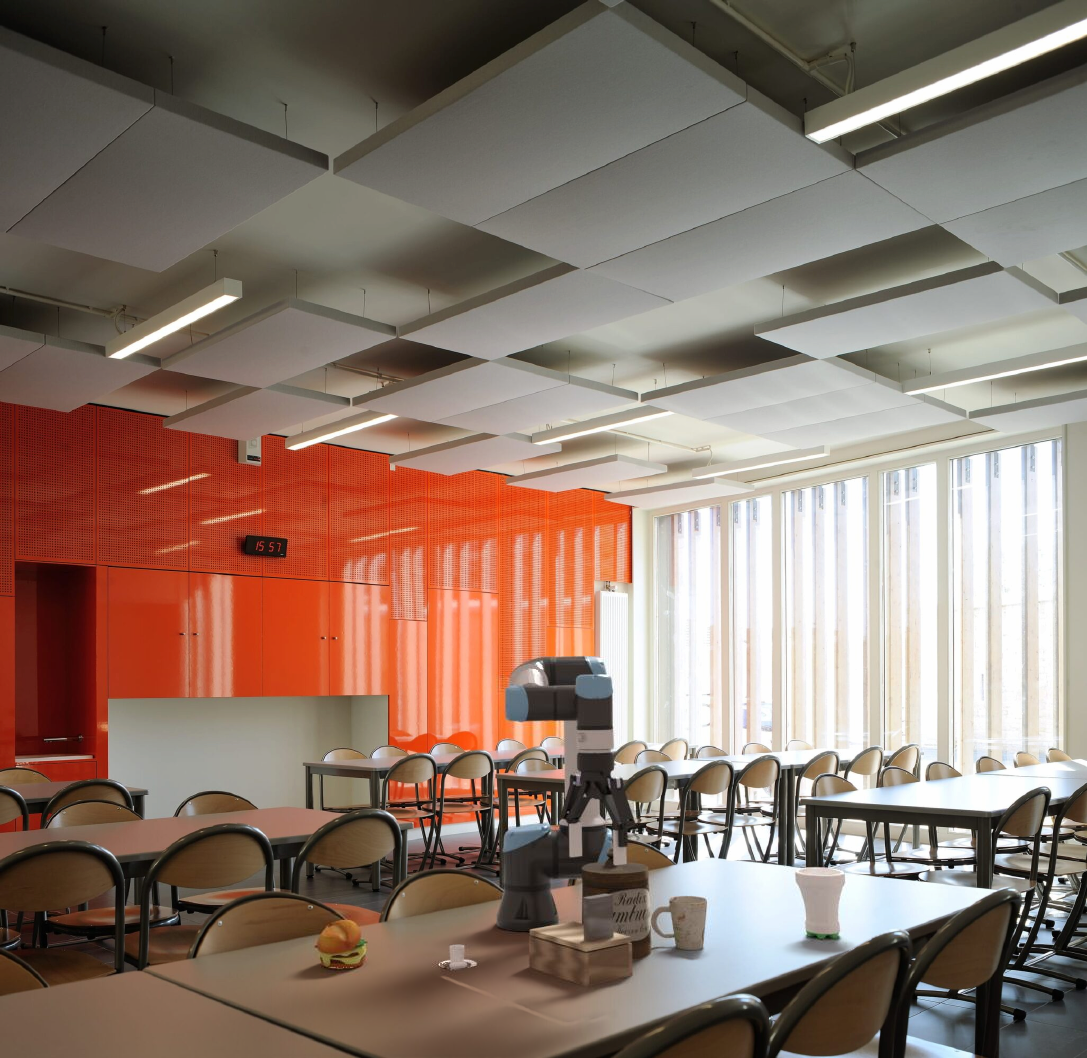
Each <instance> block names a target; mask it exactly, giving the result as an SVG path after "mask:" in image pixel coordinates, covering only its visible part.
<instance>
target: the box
mask: <svg viewBox="0 0 1087 1058" xmlns="http://www.w3.org/2000/svg"><path fill="white" fill-rule="evenodd" d="M528 950H529V951H528V955H529V956H528V963H529V964H528V965H529V966H528V967H529V968H531V969H534V970H536V971H540V972H543V973H545V974H547V975H548V974H549V975H551V976H554V977H558V978H559V979H563V980H565V981H568V982H572V983H574V984H578V985H579V986H580V985H581V986H583V987H590V986H593V985H598V984H602V983H605V982H610V981H614V980H618V979H622V978H627V977H628V978H629V977H631V976H633V975H634V974H633V973H634V972H633V971H634V969H633V959H632V943H625V944H620V945H615V946H611V947H606V948H601V949H596V950H592V951H587V952H585V951H582V950H579V949H575V948H572V947H569V946H566V945H562V944H559V943H556V942H552V941H549V940H546V939H542V938H539V937H536V936H532V935H530V936H528Z"/></svg>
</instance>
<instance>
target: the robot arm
mask: <svg viewBox="0 0 1087 1058" xmlns="http://www.w3.org/2000/svg"><path fill="white" fill-rule="evenodd" d="M508 682H509V684H508V686H507V687H505V690H504V714H505V715H504V717H505V719H506V720H507V721H508V722H519V723H523V722H563V740H564V742H563V745H564V747H563V749H564V750H563V751H564V752H563V755H564V802H563V805H562V809H561V813H560V820H559V822H558V824H559V825H558V829H552V827H551V825H550V823H531V824H526V825H520V826H516V827H513V828H511V829H508V830H507V831H506V832H505V834H504V836H503V848H502V853H503V892H502V893H503V894H502V897H501V900H500V904H499V908H498V911H497V913H496V926H497V927H498V928H500V929H501V930H502V929H503V930H507V931H514V932H530V930H531V929H536V928H541V927H547V926H552V925H557V924H560V923H559V919H560V917H559V912H558V908H557V905H556V902H555V898H554V896H553V893H552V880H577V879H579V880H582V867H583V866H584V865H587V864H591V863H597V862H606V861H607V860H608V858H609V857H608V856H607V851H608V850H610V849H611V848H613V857H614V865H622V864H627V862H628V859H627V847H628V845H629V844H628V843H629V841H628V835H629V834H628V831H629V829H631V828H632V827H635V826H636V821H635V817H634V815H633V812H632V809H631V805H630V803H629V800H628V797H627V794H626V792H625V787H624V778H623V777H622V776H618V777H617V776H616V777H612V775H611V774H612V772H613V771H614V769H615V754H614V753H613V752H612V751H613V750H614V749H615V739H614V738H615V737H614V726H613V725H614V724H613V723H614V722H613V721H614V717H613V716H614V715H613V714H614V711H613V709H614V708H613V707H614V706H613V699H614V698H613V693H614V688H613V681H612V677H611V676H610V675H609V674H607V669H606V665H605V662H604V661H603V659H602V658H600V657H599V656H588V655H581V656H579V655H578V656H577V655H575V656H574V655H573V656H539V657H536V658H532V659H529V660H526V661H525V662H523V663H521V664H519V665H518V666H517V667H515V668H514V669H513V671H512V672H511V674H510V677H509V681H508ZM600 803H602V804H603V806H604V808H605V810H606V812H607V814H608V815H609V818H610V819H611V822H612V823H613V825H614V827H613V830H612V829H610V828H608V827H607V822H606V820H605V819H604V818H603V817H602V816H601V815H600V814H601V813H600V812H601V811H600Z"/></svg>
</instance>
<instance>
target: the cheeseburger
mask: <svg viewBox="0 0 1087 1058" xmlns="http://www.w3.org/2000/svg"><path fill="white" fill-rule="evenodd" d="M367 944H368V941H367V940H365V939H362V931H361V929H360V927H359V926H358V924H357V923H356V922H354V921H352V920H350V919H341V920H336V921H334V922H331V923H329V924H328V925H326V926H325V928H324V930H323V931H322V932H321V933H320V935H319V936H318V939H317V943H316V945H314V949H317V950H318V954H317V956H318V957H319V960H320V963H321V966H322V965H324V966H327V967H336V968H337V967H338V968H343V967H344V968H346V967H347V968H350V967H356V968H358V967H360V966H362V965H363V964H364V962H365V961H366V958H367V955H366V952H367V948H366V947H367V946H366V945H367ZM324 966H323V967H324ZM357 966H358V967H357Z"/></svg>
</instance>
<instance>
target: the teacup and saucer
mask: <svg viewBox="0 0 1087 1058" xmlns="http://www.w3.org/2000/svg"><path fill="white" fill-rule="evenodd" d="M449 958H450V959H447V960H444V961H440V962H439V963H438V965H439V966H440V963H442V964H443V963H445V962H448V963H449V968H451V969H450V971H453V970H454V971H456V970H462V969H467V968H468V963H469V964H470V967H469V968H471V967H475V966H477V965H478V964H477V962H476V961H474V960H471V959H465V945H464V944H452V945H449ZM445 964H446V963H445ZM439 966H438V967H439ZM466 967H467V968H466Z"/></svg>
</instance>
